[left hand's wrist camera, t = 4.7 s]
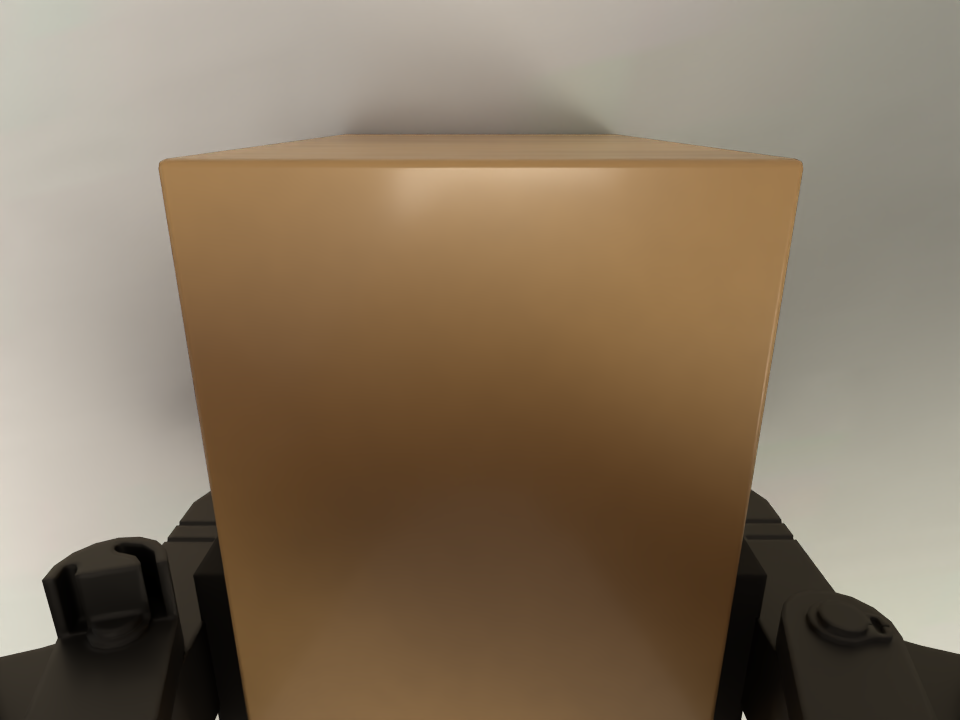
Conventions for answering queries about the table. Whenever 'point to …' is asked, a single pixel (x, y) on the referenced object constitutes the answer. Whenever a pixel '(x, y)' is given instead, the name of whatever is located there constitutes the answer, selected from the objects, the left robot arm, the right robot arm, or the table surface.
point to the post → (480, 414)
